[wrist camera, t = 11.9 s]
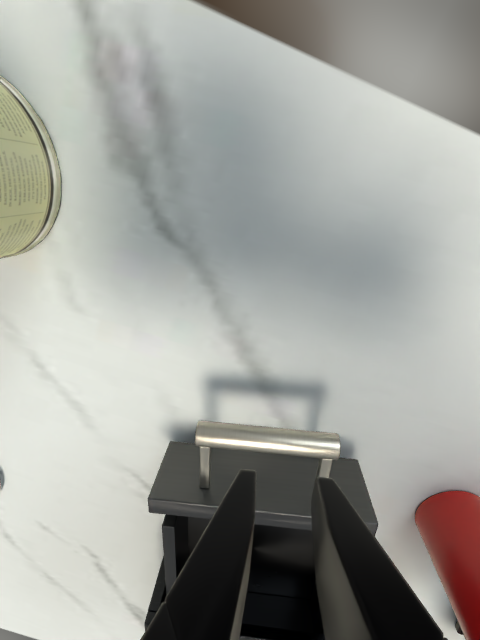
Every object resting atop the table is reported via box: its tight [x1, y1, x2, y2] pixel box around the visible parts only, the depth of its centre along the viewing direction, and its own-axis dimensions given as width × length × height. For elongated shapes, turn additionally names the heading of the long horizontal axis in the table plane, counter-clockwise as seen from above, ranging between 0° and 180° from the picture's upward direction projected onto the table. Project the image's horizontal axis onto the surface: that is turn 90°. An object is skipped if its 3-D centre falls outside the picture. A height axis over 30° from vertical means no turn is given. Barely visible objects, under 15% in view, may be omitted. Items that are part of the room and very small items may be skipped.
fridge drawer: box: [148, 421, 378, 634], centre depth 23 cm, size 20×13×5 cm, turn 177°
